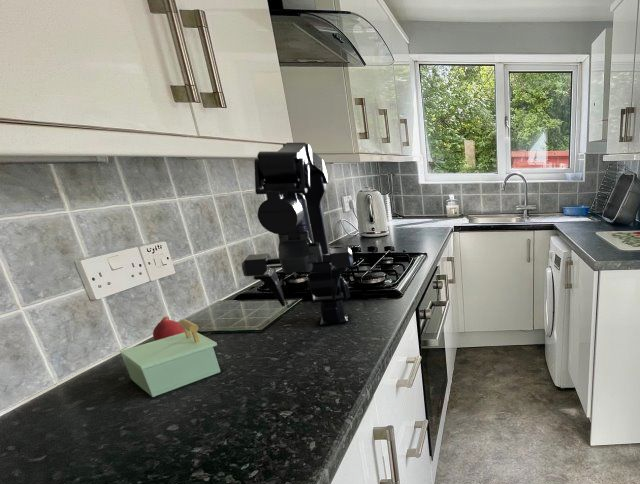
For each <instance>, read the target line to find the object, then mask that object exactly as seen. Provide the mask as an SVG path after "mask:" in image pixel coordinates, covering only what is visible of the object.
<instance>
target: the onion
mask: <svg viewBox="0 0 640 484" xmlns="http://www.w3.org/2000/svg"><path fill="white" fill-rule="evenodd" d="M184 332H185V331H184V328H183V327H181V326H180V325H179V322H178V321H176V320H172V319H170V317H169V316H168V315H165V316H163V317H162V319H161V320H160V322H158V323H157V324H156V326H155V327H154V328H153V331H152V337H153V341H156V340H160V339H163V338H167V337H170V336H174V335H177V334H181V333H184Z"/></svg>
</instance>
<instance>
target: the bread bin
mask: <svg viewBox="0 0 640 484" xmlns="http://www.w3.org/2000/svg"><path fill="white" fill-rule="evenodd" d="M120 356H121V357H122V360H123V362H124V365H125V367H126V370H127V373H128V375H129V377H130V380H131V381H132V382H133V383H135V384H136V385H137V386H138V387H140V388H141V389H142V390H143V391H145V392H146V393H147V395H149V396H150V397H152V398H154V397H157V396H160V395H162V394H165V393H168V392H170V391H173V390H176V389H179V388H182V387H184V386H187V385H189V384H192V383H195V382H197V381H201V380H203V379H206V378H209V377H211V376H213V375H216V374H219V373H221V368H220V366H219V362H218V359H217V355H216V352H215V349H214V347H211V348H208V349H205V350H202V351H199V352H195V353H192V354H189V355H186V356H183V357H180V358H177V359H174V360H171V361H168V362H165V363H162V364H158V365H155V366H152V367H149V368H146V369H143V370H142V369H140V368H139V367H138V366H136V365H135V364H134V363H132V362H131V361H130V360H128V359H127V358H126V357H124V356H123V355H122V354H121V353H120Z"/></svg>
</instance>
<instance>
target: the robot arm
mask: <svg viewBox="0 0 640 484" xmlns="http://www.w3.org/2000/svg"><path fill="white" fill-rule="evenodd" d="M253 164H254V165H253V166H254V190H255V194H256V195H266V200H264V201H262V202H261V204H259V207H258V209H257V219H258V222H259V224H260V225H261V226H262V228H264V229H265V230H266V231H268V232H269V233H271V234H274V235H277V236H278V240H279V241H278V249H277V250H278V257H271V255H270V253H269V252H268V253H255V254H248V255H247V257H246V258H244V260H243V261H242V262H241V269H242V273H243V277H252V279H253V280H254V281H261V282H263V283H264V284H265V285H266V286H267V287H268V288H269V290H270V291H271V292H272V293H273V295H274V296H275V298H276V300H277V301H278V303H279V304H280V305H281V307H285V306H286V301H285V296H284V292H283V290H282V289H283V288H282V286H281V283H280V280H279V277H278V273H277V270H276V269H279V268H281V269H282V273H284V274H286V275H287V274H288V275H291V274H293V273H301V272H302V273H309V274H308V280H307V290H308V292H309V293H308V294H309V297H310V300H311V303H312V304H314V303H319V308H320V313H321V317H320V318H321V319H320V323H319V324H320V326H330V325H331V326H332V325H338V324H339V325H340V324H345V323H346V324H347V323H348V313H347V312H345V306H344V301H347V299H349V298H351V293H350V288H349V286H348V282H347V281H346V280H345V278H344V276H342V273H344V272H347V271H348V268H353V267H354V265H355V264H354V257H353V252H352V249H351V248H349V247H348V246H347V247H336V248H330V242H329V236H328V231H327V224H326V218H325V213H324V205H323V200H324V199H325V195H326V194H327V191H328V187H327V184H329V176H328V171H327V168H326V165H325V161H324V159H323V158H322V157H321V156H319V155H318V154H317V153H315V152H314V151H313V150H312V147H311V145H310V143H307V142H286V143H283V144H282V147H281V148H280V149H279V150H277V151H268V150H267V151H266V150H265V151H264V150H263V151H261V150H260V151H259V152H258V153H257V155H256V158H254V162H253ZM343 300H344V301H343Z"/></svg>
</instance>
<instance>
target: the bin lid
mask: <svg viewBox="0 0 640 484" xmlns="http://www.w3.org/2000/svg"><path fill="white" fill-rule="evenodd" d="M178 323H179V325H180V326H181V327H183V328H184V331H185V332H184V333H181V334H177V335H174V336H170V337H167V338H163V339H160V340H156V341H155V340H153V341H150V342H147V343H142V344H138V345H135V346H131V347H129V348H125V349H121V350H119V353H120V355H121V354H122V355H123V356H124V357H126V358H127V359H128V360H130V361H131V362H132V363H134V364H135V365H136V366H138V367H139V368H140V369H142V370H143V369H146V368H149V367H152V366H155V365H158V364H162V363H165V362H168V361H171V360H174V359H177V358H180V357H183V356H186V355H189V354H192V353H195V352H199V351H202V350H205V349H208V348H211V347H213V348H214V347H217V346H218V344H217V342H216V341H214V340H212V339H211V338H209V337H206V336H205V335H203V334H201V333H199V332H198V331H199V330H200V329H199V326H198V324H195V323H193V322H191V321H189V320H187V319H181V320H180V321H179V322H178ZM122 355H121V356H122Z"/></svg>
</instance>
